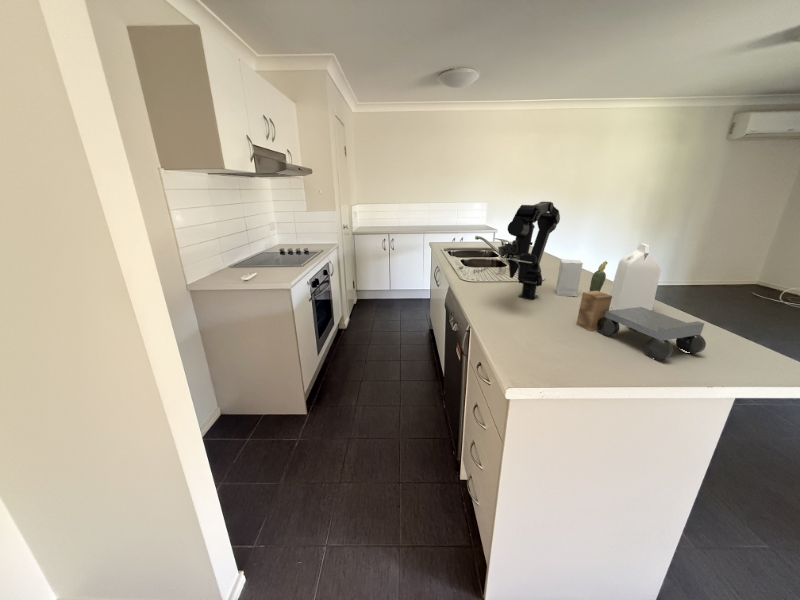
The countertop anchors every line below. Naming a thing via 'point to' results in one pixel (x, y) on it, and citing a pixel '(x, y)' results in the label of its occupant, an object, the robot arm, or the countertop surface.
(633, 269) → the milk
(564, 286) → the skincare box
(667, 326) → the trolley
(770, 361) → the countertop surface
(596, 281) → the vegetable
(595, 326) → the block
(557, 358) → the countertop surface
